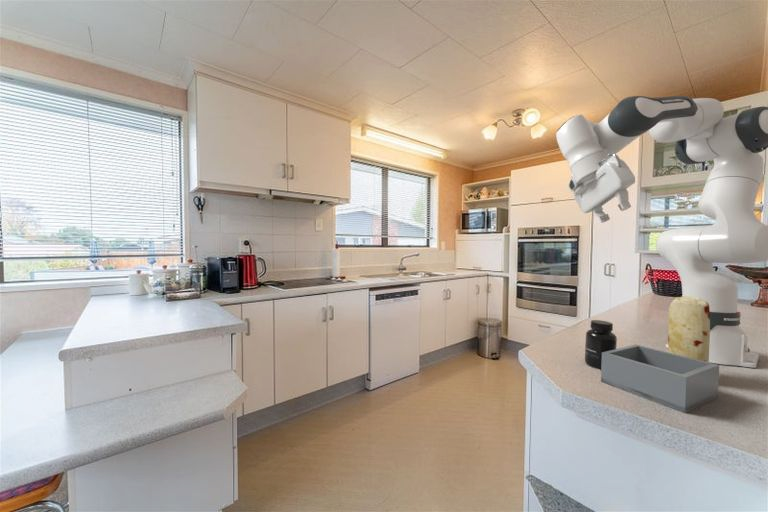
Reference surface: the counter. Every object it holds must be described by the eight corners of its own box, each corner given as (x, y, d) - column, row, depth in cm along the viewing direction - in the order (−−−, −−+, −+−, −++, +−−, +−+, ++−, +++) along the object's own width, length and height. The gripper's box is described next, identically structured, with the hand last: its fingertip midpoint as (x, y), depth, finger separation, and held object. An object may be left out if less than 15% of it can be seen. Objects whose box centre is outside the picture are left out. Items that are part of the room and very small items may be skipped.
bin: (635, 371, 78) (635, 344, 78) (718, 397, 64) (719, 365, 64) (601, 381, 71) (601, 352, 71) (685, 413, 58) (686, 377, 58)
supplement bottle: (582, 365, 81) (583, 321, 81) (587, 359, 86) (588, 317, 86) (614, 373, 76) (615, 326, 76) (617, 365, 81) (618, 321, 81)
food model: (718, 386, 69) (721, 300, 69) (682, 382, 71) (685, 299, 71) (690, 370, 79) (692, 294, 78) (658, 367, 81) (661, 293, 80)
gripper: (626, 145, 71) (655, 196, 68) (586, 182, 91) (607, 223, 88) (599, 154, 72) (626, 204, 69) (565, 189, 92) (585, 230, 88)
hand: (615, 215), depth 78 cm, fingers open, 8 cm apart
